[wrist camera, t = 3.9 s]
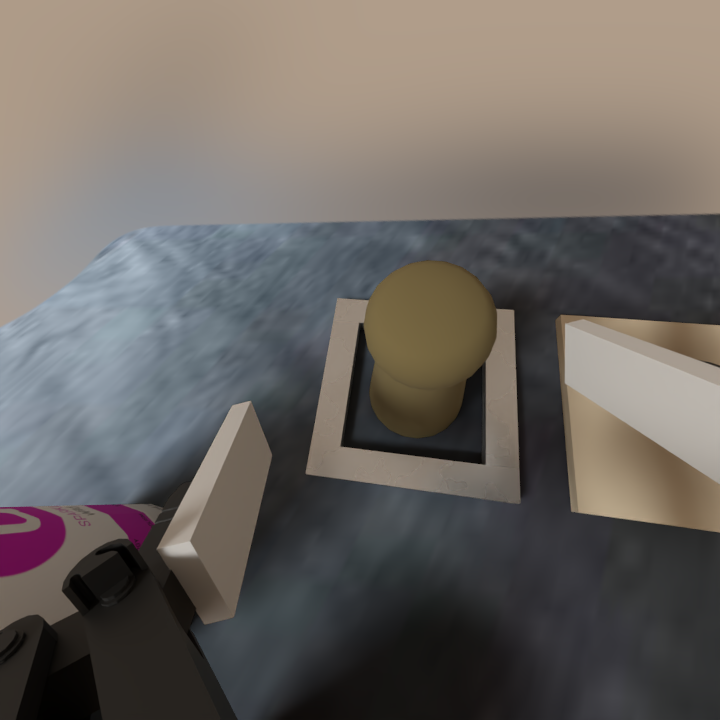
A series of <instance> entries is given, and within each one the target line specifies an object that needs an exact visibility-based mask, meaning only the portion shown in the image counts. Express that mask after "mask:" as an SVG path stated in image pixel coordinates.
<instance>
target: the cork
mask: <svg viewBox="0 0 720 720" xmlns="http://www.w3.org/2000/svg"><path fill="white" fill-rule="evenodd" d="M364 330H365V336H366V342H367V346H368V350H369V351H370V353H371V355H372V357H373V358H374V360H375V364H374V369H373V373H372V378H371V384H370V391H369V394H370V400H371V406H372V408H373V410H374V412H375V414H376V416H377V417H378V419H379V420H380V421H381V422H382V423H383V424H384V425H385V426H386V427H387V428H388V429H389V430H391V431H393V432H395V433H397V434H400V435H402V436H405V437H412V438H423V437H429V436H434V435H436V434H437V433H439V432H441V431H443V430H445V429H447V427H448V426H449V425H450V424H451V423H452V422H453V421H454V420H455V419H456V417H457V415H458V413H459V410H460V408H461V405H462V401H463V396H464V390H465V385H466V379H467V378H469V377H471V376H472V375H473V374H474V373H475V372H476V371H477V370H478V369H479V368H480V367H481V366H482V364H483V363H484V362H485V361H486V360H487V358H488V357H489V355H490V353H491V350H492V348H493V345H494V343H495V341H496V338H497V310H496V308H495V305H494V302H493V299H492V296H491V294H490V293H489V292H488V291H487V289H486V288H485V287H484V286H483V284H482V283H481V282H480V281H479V279H478V278H477V277H476V276H474V275H473V274H471V273H470V272H468V271H467V270H465V269H464V268H462V267H460V266H457V265H454V264H451V263H448V262H444V261H430V260H426V261H421V262H416V263H410V264H408V265H406V266H404V267H402V268H400V269H398V270H396V271H394V272H392V273H391V274H390V275H389V276H387V277H386V278H385V279H384V280H383V281H382V282H381V283H380V284H379V285H378V286H377V287H376V289H375V291H374V292H373V294H372V296H371V298H370V299H369V301H368V305H367V308H366V313H365V319H364Z"/></svg>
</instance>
